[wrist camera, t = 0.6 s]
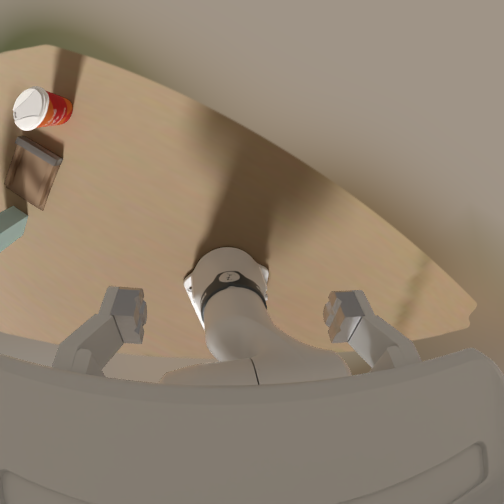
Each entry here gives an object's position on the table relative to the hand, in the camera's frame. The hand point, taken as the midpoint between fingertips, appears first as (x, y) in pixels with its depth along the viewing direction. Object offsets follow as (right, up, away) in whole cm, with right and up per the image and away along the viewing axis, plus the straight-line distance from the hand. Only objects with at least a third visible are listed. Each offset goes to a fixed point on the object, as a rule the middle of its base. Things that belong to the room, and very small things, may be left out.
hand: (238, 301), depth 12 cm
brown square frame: (-46, +19, +33) cm, 60 cm away
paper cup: (-38, +30, +30) cm, 57 cm away
